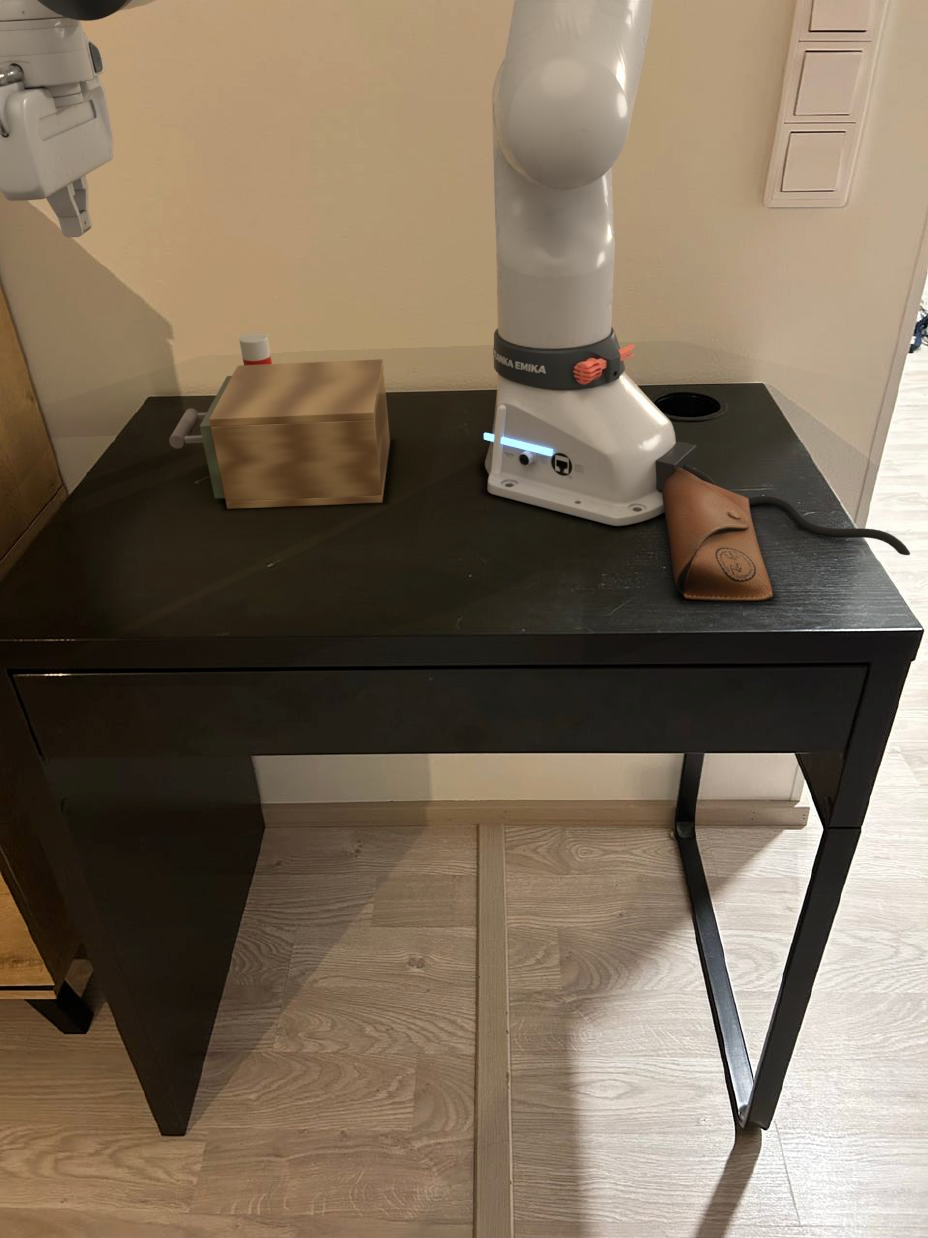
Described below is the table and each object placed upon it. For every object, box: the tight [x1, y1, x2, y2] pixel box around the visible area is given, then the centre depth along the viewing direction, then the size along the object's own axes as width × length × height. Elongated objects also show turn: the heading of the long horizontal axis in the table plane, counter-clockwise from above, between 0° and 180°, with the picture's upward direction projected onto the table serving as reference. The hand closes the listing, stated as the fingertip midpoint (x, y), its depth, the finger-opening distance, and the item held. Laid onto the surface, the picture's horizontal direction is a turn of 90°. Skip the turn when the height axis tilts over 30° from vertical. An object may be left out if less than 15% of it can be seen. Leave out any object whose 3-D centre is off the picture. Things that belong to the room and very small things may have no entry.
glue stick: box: [238, 332, 273, 365], centre depth 111 cm, size 3×3×10 cm
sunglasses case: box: [662, 468, 774, 603], centre depth 85 cm, size 18×7×7 cm
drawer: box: [168, 375, 232, 499], centre depth 99 cm, size 19×13×8 cm
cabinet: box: [209, 358, 391, 510], centre depth 99 cm, size 16×15×10 cm
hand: (78, 233), depth 88 cm, fingers closed
